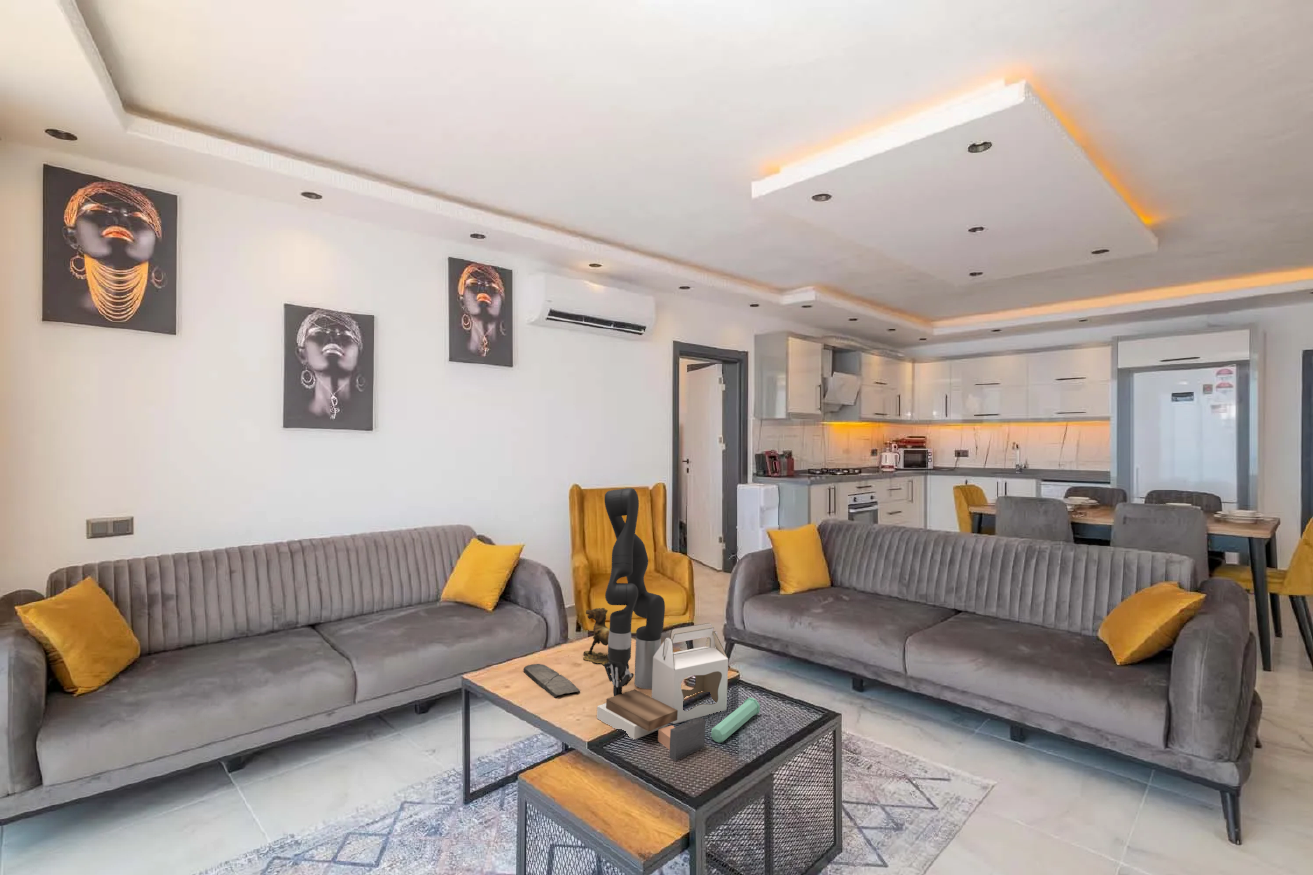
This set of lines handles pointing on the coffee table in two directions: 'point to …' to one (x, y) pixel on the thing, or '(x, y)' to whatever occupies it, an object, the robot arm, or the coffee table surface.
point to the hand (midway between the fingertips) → (617, 696)
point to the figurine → (598, 636)
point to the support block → (665, 736)
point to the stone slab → (549, 680)
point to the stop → (687, 738)
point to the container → (735, 720)
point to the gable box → (691, 671)
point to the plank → (641, 709)
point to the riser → (621, 723)
